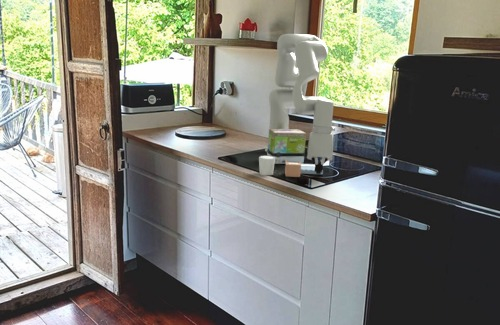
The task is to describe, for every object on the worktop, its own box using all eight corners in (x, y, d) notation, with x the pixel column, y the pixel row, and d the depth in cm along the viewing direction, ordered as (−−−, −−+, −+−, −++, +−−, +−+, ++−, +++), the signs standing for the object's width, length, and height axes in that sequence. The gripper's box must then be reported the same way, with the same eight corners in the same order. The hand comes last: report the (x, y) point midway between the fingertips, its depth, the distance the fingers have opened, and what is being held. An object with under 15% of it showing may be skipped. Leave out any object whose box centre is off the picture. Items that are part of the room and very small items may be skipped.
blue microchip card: (288, 166, 206) (288, 162, 205) (319, 167, 206) (319, 164, 205) (289, 172, 195) (289, 169, 195) (322, 174, 195) (323, 170, 195)
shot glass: (264, 176, 188) (265, 159, 186) (254, 172, 194) (255, 156, 192) (277, 174, 192) (278, 158, 190) (267, 170, 198) (268, 154, 196)
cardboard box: (285, 172, 195) (285, 161, 193) (299, 173, 195) (300, 162, 193) (285, 176, 190) (286, 164, 189) (300, 176, 190) (301, 164, 188)
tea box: (273, 164, 207) (275, 132, 204) (266, 159, 217) (268, 128, 213) (304, 164, 211) (306, 132, 208) (296, 158, 221) (298, 128, 217)
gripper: (338, 129, 191) (334, 171, 195) (302, 127, 191) (299, 169, 195) (341, 132, 183) (337, 176, 188) (304, 130, 184) (301, 174, 188)
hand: (318, 173), depth 192 cm, fingers closed
